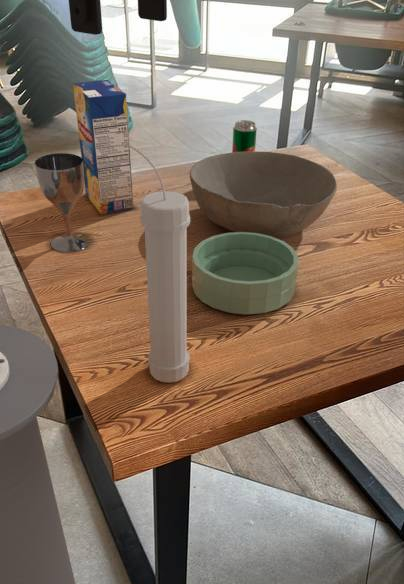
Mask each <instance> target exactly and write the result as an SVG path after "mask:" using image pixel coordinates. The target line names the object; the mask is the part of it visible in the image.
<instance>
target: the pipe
mask: <svg viewBox="0 0 404 584" xmlns="http://www.w3.org/2000/svg"><path fill="white" fill-rule="evenodd" d="M129 147H130V148H131V149H132V150H134V151H135V152H137V153H138V154H139V155H141V156H142V157H143V158H144V159H145V160H146V161H147V162H148V163H149V165H150V166H151V168H152V169H153V170H154V172H155V174H156V175H157V178H158V181H159V182H160V186H161V189H162V191H155V192H151V193H148V194H146V195H144V196H143V197H142V198H141V201H140V212H141V213H140V218H139V219H140V225H141V226H142V227H143V228H144V244H145V245H144V246H145V247H144V248H145V266H146V285H147V306H148V323H149V325H148V326H149V342H150V343H149V344H150V345H149V346H150V347H149V348H150V351H149V353H148V355H147V362H148V365H149V373H150V375H151V376H152V378H154V380H156V381H158V382H160V383H167V384H170V383H177V382H179V381H182V380H183V379H184V378H186V376H187V375H188V373H189V368H190V365H189V364H190V361H191V355H190V353H189V351H188V349H187V348H188V347H187V346H188V344H187V343H188V341H187V338H188V335H187V334H188V333H187V331H188V329H187V322H188V320H187V317H188V316H187V313H188V312H187V311H188V310H187V309H188V305H187V304H188V303H187V301H188V300H187V299H188V298H187V296H188V295H187V293H188V290H187V289H188V288H187V287H188V284H187V283H188V280H187V279H188V278H187V277H188V276H187V275H188V274H187V268H188V267H187V266H188V265H187V260H188V259H187V258H188V257H187V255H188V254H187V252H188V251H187V250H188V249H187V248H188V246H187V245H188V244H187V243H188V240H187V239H188V238H187V237H188V235H187V228H188V227H189V226H190V224H191V215H190V202H189V200H188V197H187V196H186V195H185V194H183V193H181V192H176V191H170V190H169V191H168V190H165V186H164V184H163V180H162V177H161V175H160V173H159V171H158V170H157V168H156V166H155V165H154V164H153V162H152V161H151V160H150V158H148V156H146V155H145V154H144V153H143V152H142V151H140V150H139V149H137V148H136V147H134V146H133V145H131V144H129Z"/></svg>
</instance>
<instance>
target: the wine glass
mask: <svg viewBox="0 0 404 584" xmlns="http://www.w3.org/2000/svg"><path fill="white" fill-rule="evenodd" d="M34 168H35V173H36V178H37V182H38V185H39V187H40V190H41V192H42V194H43V196H44V197H45V198H46V200H47V201H49V202H50V203H51V204H52V205H53V206H54V207H56V208H57V209H58V210H59V212H60V213H61V215H62V217H63V220H64V224H65V229H66V233H65V234H61V235H58V236H56V237H55V238H53V239H52V240H51V241H50V246H51V248H52V249H53V250H55V251H58V252H61V253H73V252H78V251H81V250H84V249H86V248H87V247H89V246H90V244H91V239H90V237H88V236H86V235H85V234H81V233H72V228H71V227H72V226H71V213H72V210H73V208H74V206H75V205H76V204H77V202H78V201H79V200H80V199H81V197H82V195H83V191H84V189H85V182H84V165H83V159H82V157H81V155H77V154H74V153H68V152H67V153H64V152H62V153H61V152H59V153H49V154H46V155H43V156H40V157H38V158H36V160H35V161H34Z"/></svg>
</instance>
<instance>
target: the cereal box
mask: <svg viewBox="0 0 404 584" xmlns="http://www.w3.org/2000/svg"><path fill="white" fill-rule="evenodd" d="M72 88H73V96H74V106H75V112H76V121H77V129H78V130H77V131H78V138H79V146H80V147H79V148H80V157H81V158H82V159H83V165H84V191H85V195H86V196H87V198H88V199H89V200H90V202H91V203H92V205H93V206H94V207H95V209H96V210H97V211H98V213H99V214H100V215H106V214H112V213H118V212H124V211H129V210H133V209H134V197H133V182H132V181H133V180H132V165H131V150H130V147H129V146H130V133H129V119H128V117H129V115H128V106H127V105H128V103H127V102H128V101H127V93H126V92H125V91H123V90H122V89H121V88H119V87H117V86H116V85H115V84H114V83H112V82H111V81H110V80H108V79H103V80H93V81H82V82H72Z"/></svg>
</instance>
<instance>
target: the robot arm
mask: <svg viewBox="0 0 404 584" xmlns="http://www.w3.org/2000/svg"><path fill="white" fill-rule="evenodd" d="M68 8H69V18H70V27H71V30H72V31H73V32H75V33H82V34H87V35H93V36H96V35H101V34H102V31H103V21H102V20H103V19H102V5H101V0H68ZM137 15H138V17H139V18H140V19H141V20H148V21H149V20H150V21H155V22H156V21H157V22H164V21H166V20H167V19H168V0H137ZM9 375H10V368H9V365H8V361H7V359H6V357H5V356H4V355H3V354H2V353H1V352H0V390H1V389H2V388H3V387H4V386H5V384H6V382H7V381H8V378H9Z"/></svg>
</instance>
